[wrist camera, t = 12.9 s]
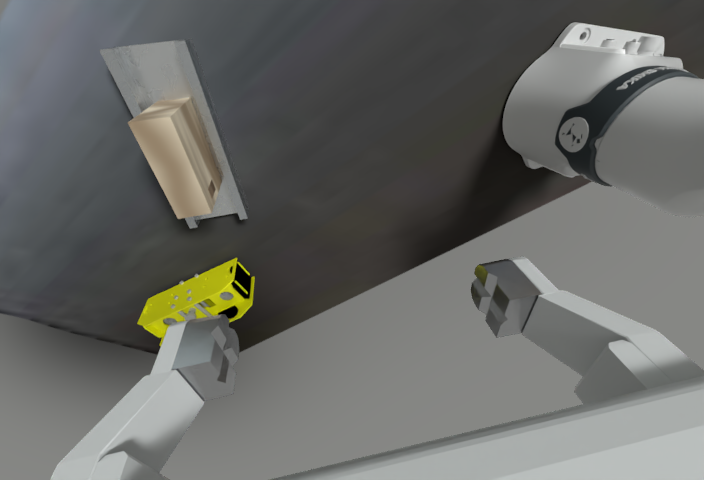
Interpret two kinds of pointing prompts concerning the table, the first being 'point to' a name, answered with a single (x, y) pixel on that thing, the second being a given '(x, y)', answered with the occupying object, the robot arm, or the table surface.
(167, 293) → the yellow toy chassis
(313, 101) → the table surface
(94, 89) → the table surface
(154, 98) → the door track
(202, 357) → the robot arm
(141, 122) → the tan rectangular block
